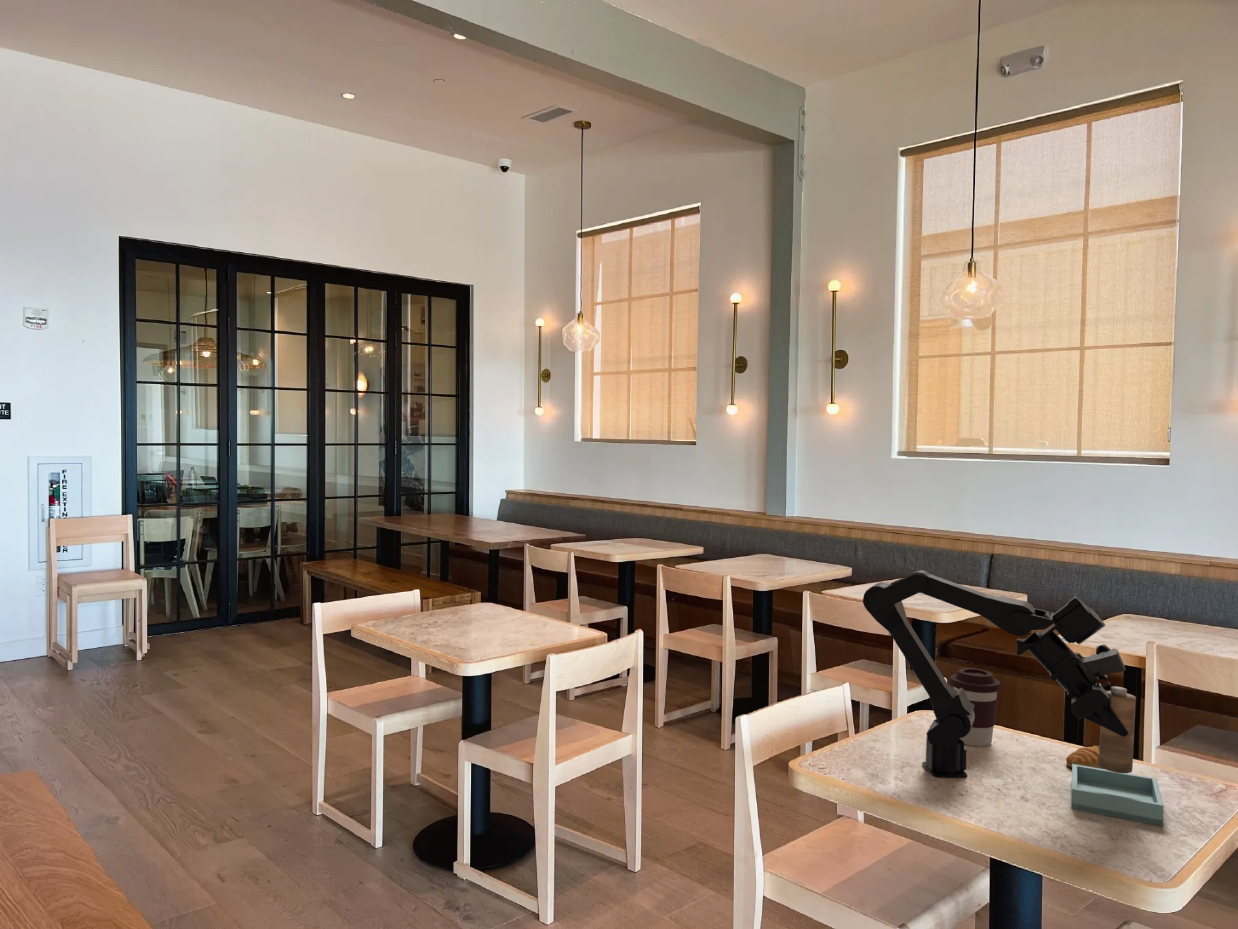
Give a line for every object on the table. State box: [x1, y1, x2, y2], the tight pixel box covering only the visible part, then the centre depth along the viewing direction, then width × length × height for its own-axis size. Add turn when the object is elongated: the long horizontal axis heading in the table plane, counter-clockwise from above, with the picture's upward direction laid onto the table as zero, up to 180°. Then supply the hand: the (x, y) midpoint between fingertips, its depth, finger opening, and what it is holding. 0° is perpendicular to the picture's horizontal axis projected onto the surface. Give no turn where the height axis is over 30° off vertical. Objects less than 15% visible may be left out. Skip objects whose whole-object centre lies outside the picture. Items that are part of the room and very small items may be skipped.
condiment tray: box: [1070, 764, 1164, 827], centre depth 154 cm, size 14×14×4 cm
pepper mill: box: [1098, 686, 1137, 774], centre depth 154 cm, size 5×5×14 cm
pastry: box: [1065, 745, 1103, 769], centre depth 172 cm, size 9×7×4 cm
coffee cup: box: [949, 667, 1002, 748], centre depth 185 cm, size 10×10×15 cm
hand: (1125, 730), depth 153 cm, fingers closed on pepper mill, 5 cm apart
